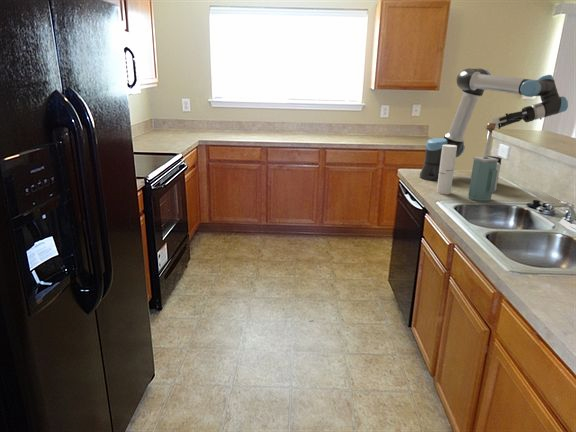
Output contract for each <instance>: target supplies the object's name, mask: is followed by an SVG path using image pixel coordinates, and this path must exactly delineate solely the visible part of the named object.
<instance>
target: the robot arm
mask: <svg viewBox="0 0 576 432" xmlns="http://www.w3.org/2000/svg"><path fill="white" fill-rule="evenodd" d="M555 81H556V80H555V79H554V77H553V75H552V74H546V75H542V76H540V77H538V78H537V79H528V78H527V79H526V78H518V77H511V76H503V75H502V76H500V75H495V74H493V75H492V74H491V73H490V71H489V70H488V69H484V68H479V67H478V68H471V67H469V68H465V69H462V70H461V71H460V72H459V73H458V75H457V77H456V85H457V86H458V88H459V89H460V90H461V92H462V96H461V98H460V101H459V104H458V107H457V109H456V112H455V115H454V116H453V120H452V123H451V125H450V128H449V130H448V132H447V133H445V134H444V136H443V137H436V138H434V137H433V138H430V139H427V141H426V145H425V153H424V161H423V162H424V164H423V165H422V168H421V170H420V173H419V178H420V179H423V180H428V181H438V176H439V169H440V161H441V153H442V145H455V146H457V151H456V158H458V157H460V156H462V155H463V153H464V151H465V146H466V145H465V143H464V142H465V138H464V134H465V133H466V129H467V127H468V124H469V122H470V120H471V117H472V114H473V113H474V109H475V108H476V104H477V102H478V99H480V98H481V97H482V96H483V94H484V91H491V92H498V93H499V92H500V93H507V94H513V95H521V96H524V97H528V98H529V97H530V98H533V97H540V101H541V102H538V103H535V104H532V105H528V106H524V107H523V108H522V109H521V110H520V111H516V112H511V113H505V115H503V116H499V117H496V118H493V119H491V120H490V121H491V123H496V125H495V130H496V129H498V130H500V129H501V128H503V127H506V126H509V125H512V124H514V123H519V122H521V121H522V120H523V122H525V123H529V122H533V121H534V120H535V121H536V120H543V118H548V117H551V116H554V115H558V114H561V113H564V112H566V111H567V110H568V107H569V102H568V99H567V98H566V97H565V96H563V95H562V96H560V95H559V93H558V89H557V85H556V83H555ZM484 131H485V132H488V130H487V125H484Z"/></svg>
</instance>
